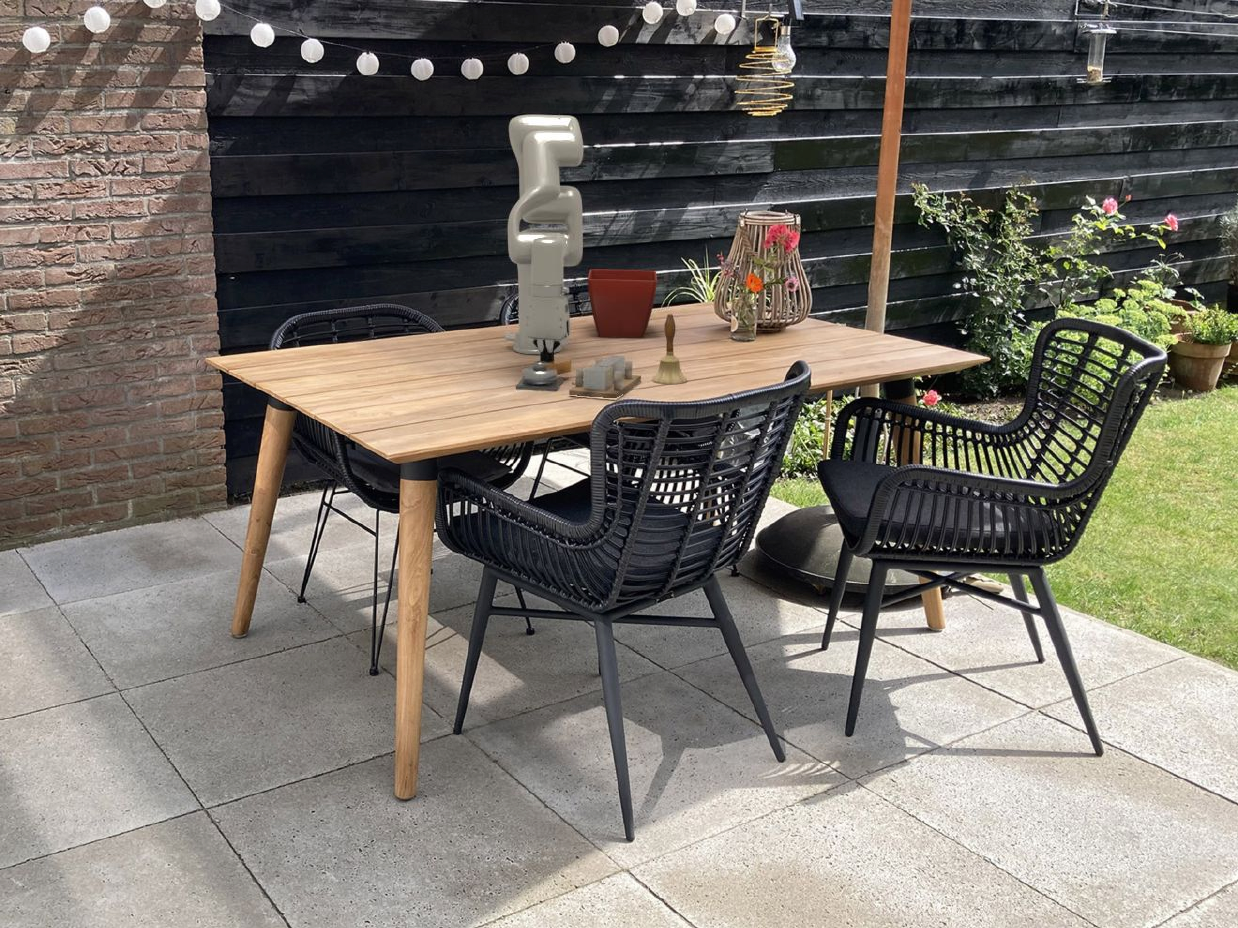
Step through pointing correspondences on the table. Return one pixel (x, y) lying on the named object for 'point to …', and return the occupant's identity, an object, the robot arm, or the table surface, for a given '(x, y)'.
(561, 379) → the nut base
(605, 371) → the grey joined blocks
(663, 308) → the table surface
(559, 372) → the domed call bell
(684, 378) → the hand bell
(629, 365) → the rack
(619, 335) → the plant pot
